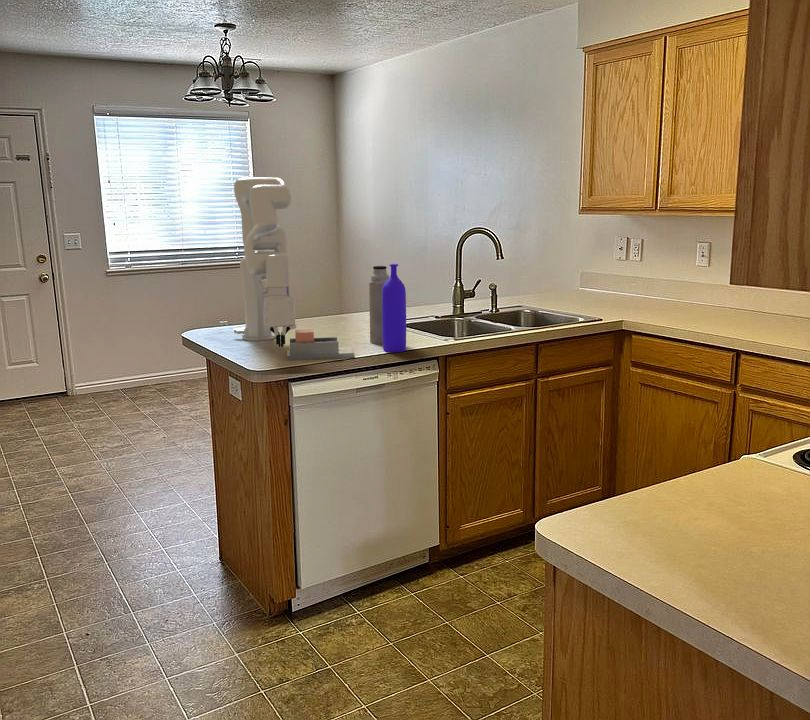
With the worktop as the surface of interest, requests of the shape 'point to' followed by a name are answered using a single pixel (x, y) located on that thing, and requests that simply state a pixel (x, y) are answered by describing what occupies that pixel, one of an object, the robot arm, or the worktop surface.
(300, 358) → the chute
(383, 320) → the bottle
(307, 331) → the block
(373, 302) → the thermos bottle
